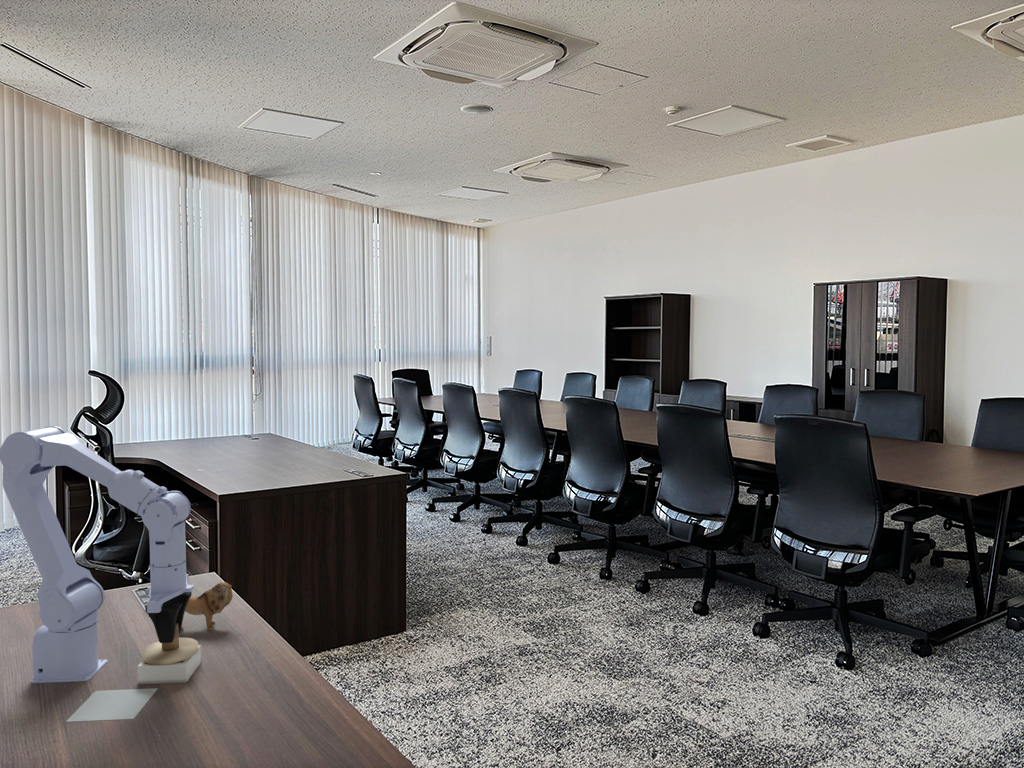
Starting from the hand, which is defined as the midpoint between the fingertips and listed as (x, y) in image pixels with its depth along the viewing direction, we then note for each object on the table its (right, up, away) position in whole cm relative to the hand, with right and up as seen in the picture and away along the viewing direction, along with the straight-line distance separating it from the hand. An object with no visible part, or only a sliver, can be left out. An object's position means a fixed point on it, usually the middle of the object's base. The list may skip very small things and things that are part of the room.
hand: (169, 638), depth 130 cm
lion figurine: (-4, -6, +22) cm, 23 cm away
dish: (0, -7, 0) cm, 7 cm away
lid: (0, -3, 0) cm, 3 cm away
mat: (-4, -7, -11) cm, 14 cm away
